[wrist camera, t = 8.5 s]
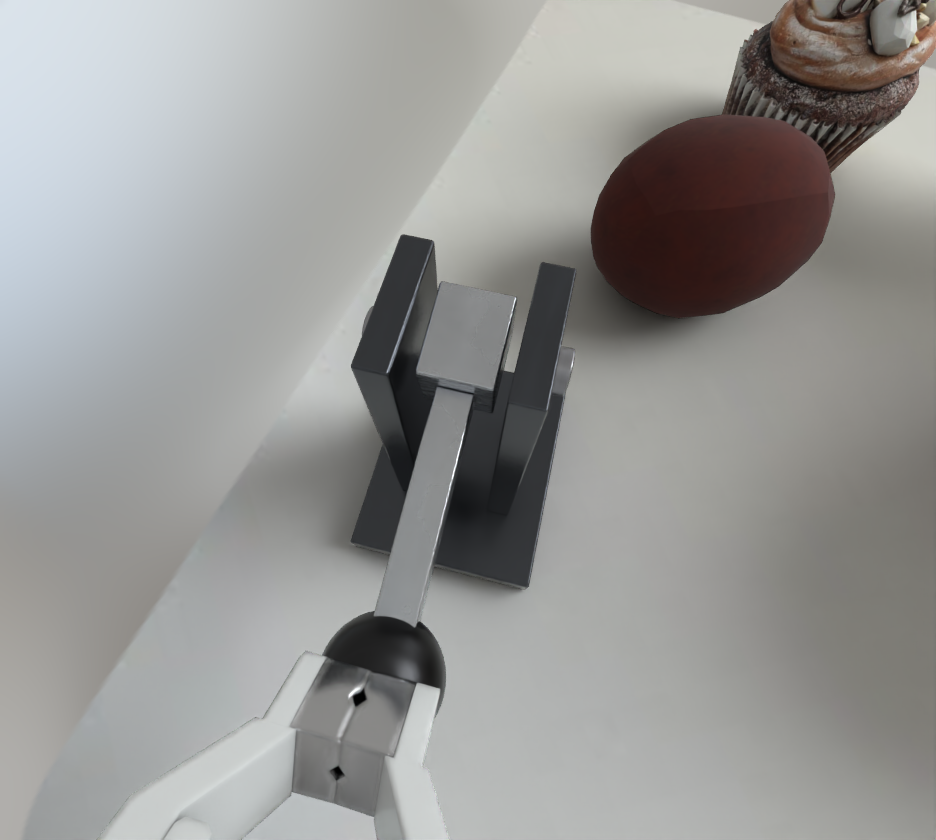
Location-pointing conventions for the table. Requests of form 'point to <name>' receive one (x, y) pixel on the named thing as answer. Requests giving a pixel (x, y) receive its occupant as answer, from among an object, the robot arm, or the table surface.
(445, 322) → the switch lever
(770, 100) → the cupcake
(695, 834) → the table surface
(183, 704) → the table surface
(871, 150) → the table surface
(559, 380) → the bracket
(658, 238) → the potato
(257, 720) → the robot arm
